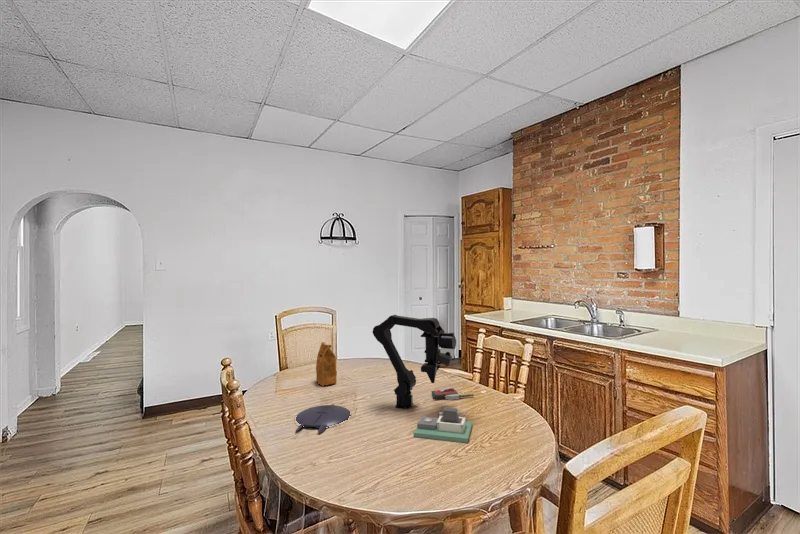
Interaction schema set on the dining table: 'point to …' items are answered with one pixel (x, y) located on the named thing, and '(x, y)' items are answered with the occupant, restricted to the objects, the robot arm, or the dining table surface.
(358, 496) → the dining table surface
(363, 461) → the dining table surface
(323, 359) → the coffee package
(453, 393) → the walkie-talkie
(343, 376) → the dining table surface
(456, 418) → the plug
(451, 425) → the board
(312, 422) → the toy spaceship
